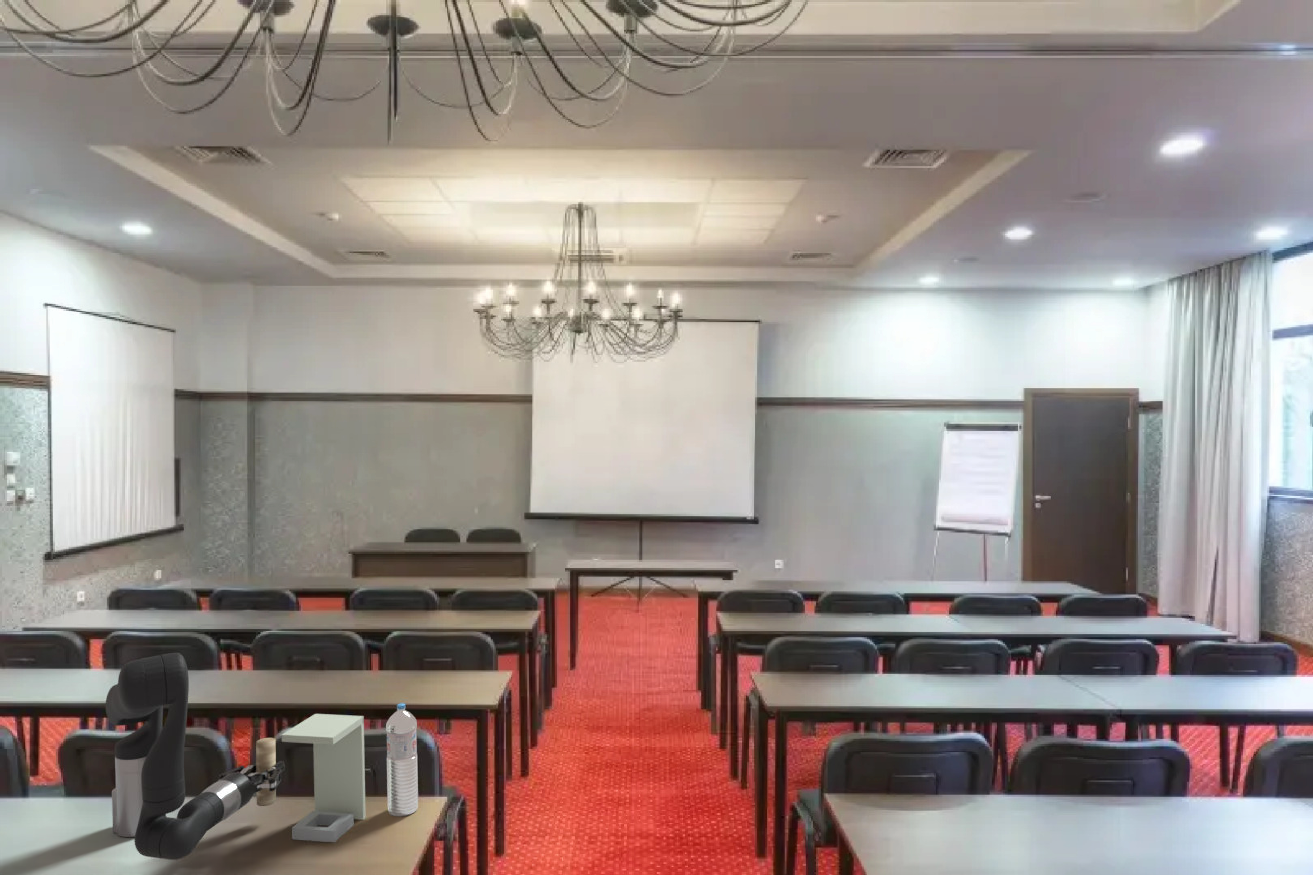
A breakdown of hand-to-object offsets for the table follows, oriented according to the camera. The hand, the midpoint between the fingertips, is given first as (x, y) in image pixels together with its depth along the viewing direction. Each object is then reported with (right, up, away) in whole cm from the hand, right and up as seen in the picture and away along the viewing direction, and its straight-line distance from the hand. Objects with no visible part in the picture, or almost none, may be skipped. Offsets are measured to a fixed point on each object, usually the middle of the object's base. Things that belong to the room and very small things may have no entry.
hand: (273, 764), depth 194 cm
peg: (0, -8, -2) cm, 8 cm away
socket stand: (+14, -12, -7) cm, 20 cm away
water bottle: (+29, -12, +3) cm, 32 cm away
